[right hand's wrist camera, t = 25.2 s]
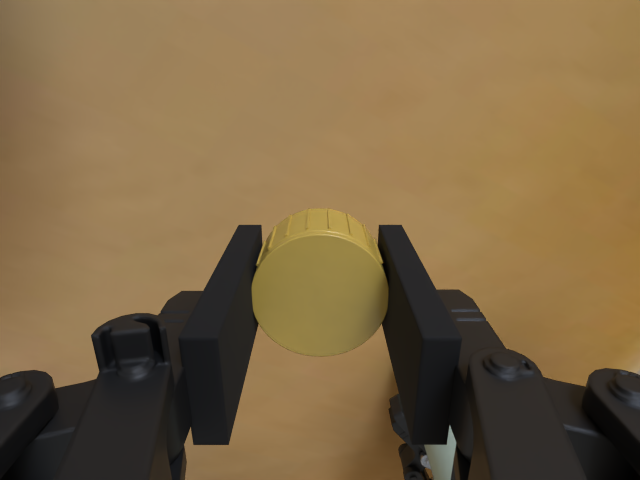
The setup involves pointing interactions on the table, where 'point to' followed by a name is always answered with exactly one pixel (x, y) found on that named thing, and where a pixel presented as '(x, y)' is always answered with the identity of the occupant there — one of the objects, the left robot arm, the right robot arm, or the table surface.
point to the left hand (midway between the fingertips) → (429, 385)
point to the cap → (320, 284)
